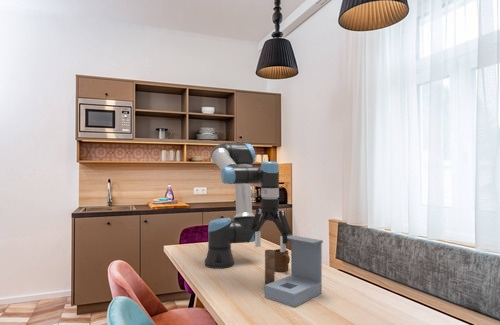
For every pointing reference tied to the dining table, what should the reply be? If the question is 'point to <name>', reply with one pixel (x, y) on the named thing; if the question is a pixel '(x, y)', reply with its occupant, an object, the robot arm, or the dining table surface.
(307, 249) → the socket station
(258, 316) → the dining table surface
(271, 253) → the peg
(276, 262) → the mug
